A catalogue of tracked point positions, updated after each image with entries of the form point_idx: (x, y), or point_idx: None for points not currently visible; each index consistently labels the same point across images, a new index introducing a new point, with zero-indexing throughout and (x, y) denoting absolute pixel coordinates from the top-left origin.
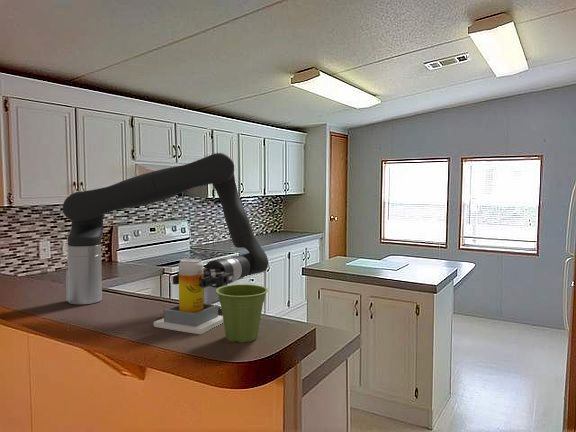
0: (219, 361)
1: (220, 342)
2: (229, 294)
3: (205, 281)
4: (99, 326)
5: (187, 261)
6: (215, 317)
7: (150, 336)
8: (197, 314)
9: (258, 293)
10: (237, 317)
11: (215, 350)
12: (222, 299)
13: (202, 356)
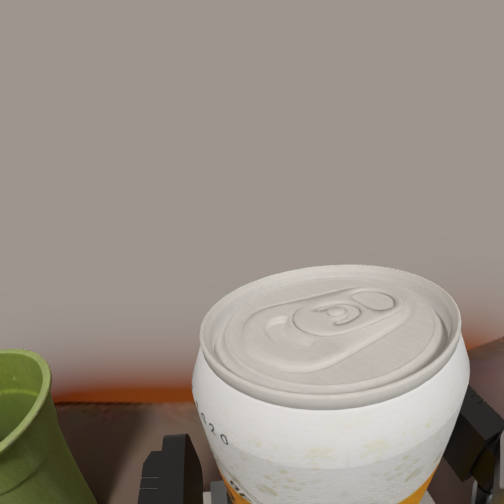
0: (71, 401)
1: (100, 474)
2: (25, 463)
3: (159, 456)
4: (477, 364)
5: (333, 295)
6: None
7: None
8: (212, 493)
9: None
10: (18, 420)
11: (94, 434)
12: (33, 373)
13: (107, 405)
